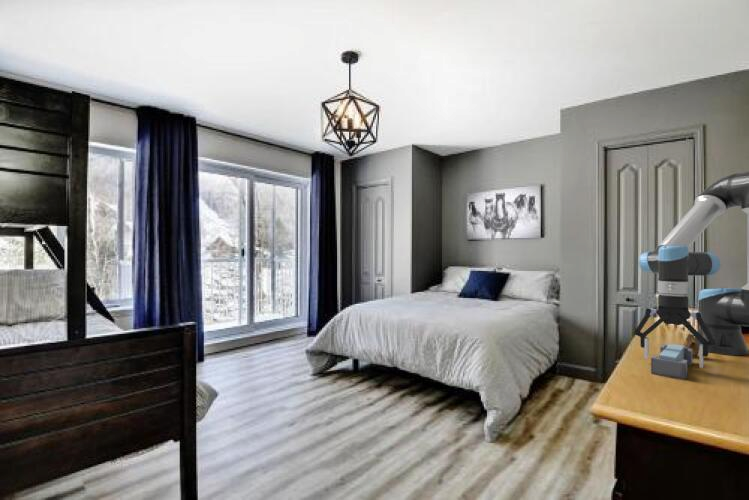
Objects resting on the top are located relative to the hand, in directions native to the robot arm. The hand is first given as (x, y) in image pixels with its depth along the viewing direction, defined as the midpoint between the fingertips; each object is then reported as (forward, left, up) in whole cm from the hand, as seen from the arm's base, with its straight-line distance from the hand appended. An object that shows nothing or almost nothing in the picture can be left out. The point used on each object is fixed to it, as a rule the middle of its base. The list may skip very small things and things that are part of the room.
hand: (672, 362), depth 120 cm
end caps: (0, 0, -2) cm, 2 cm away
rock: (-20, -9, -2) cm, 22 cm away
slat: (0, 0, -1) cm, 1 cm away
